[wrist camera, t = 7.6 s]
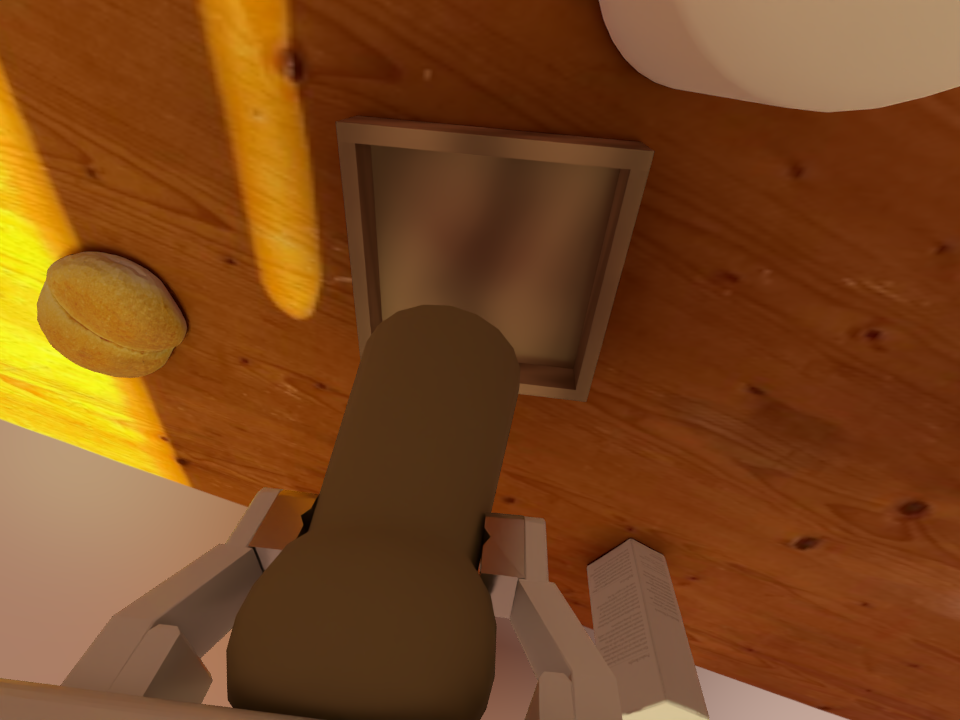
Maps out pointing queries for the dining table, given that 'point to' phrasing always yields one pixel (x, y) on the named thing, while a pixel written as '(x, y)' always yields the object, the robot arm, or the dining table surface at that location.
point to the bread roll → (109, 315)
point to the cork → (391, 540)
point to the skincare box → (643, 635)
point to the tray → (493, 234)
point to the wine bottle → (793, 49)
